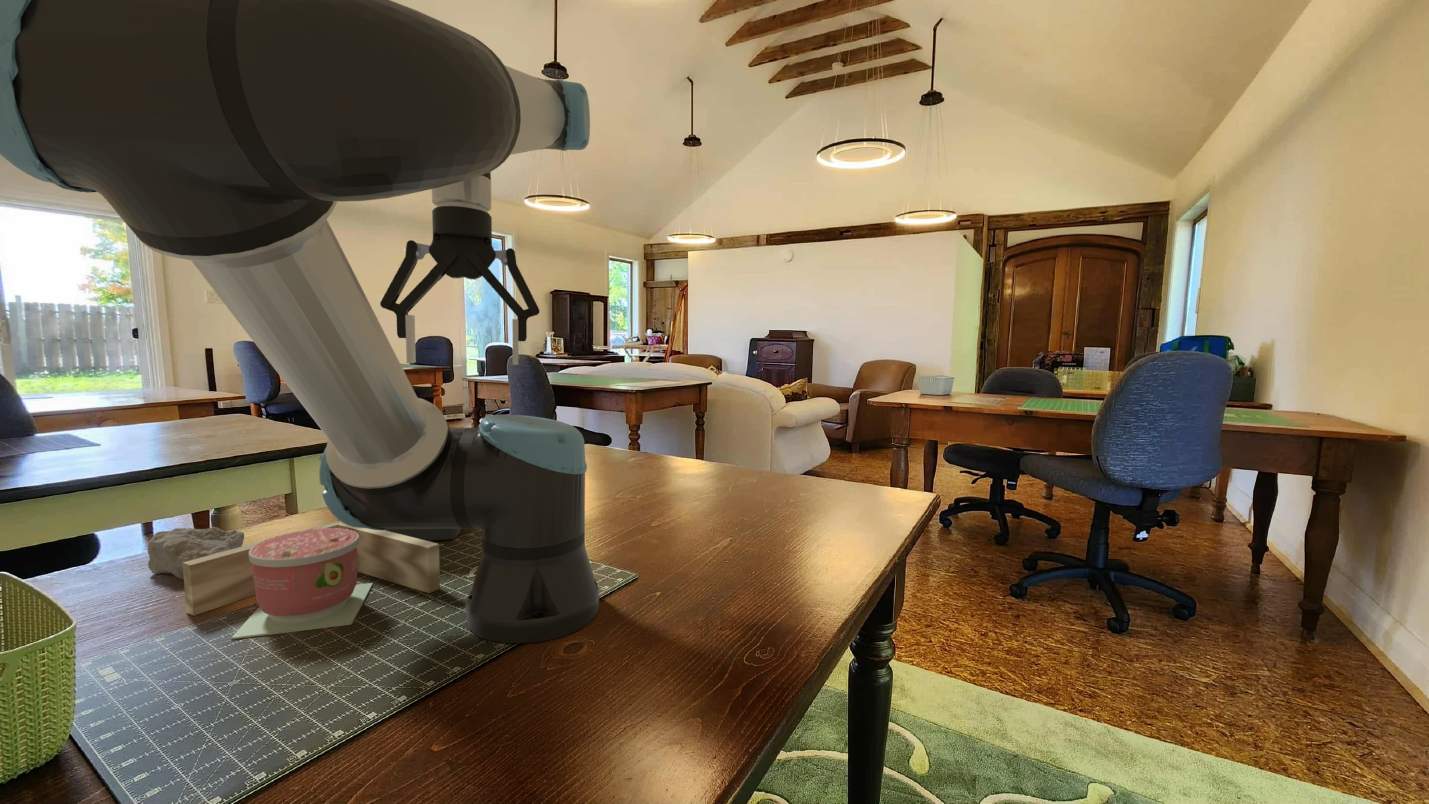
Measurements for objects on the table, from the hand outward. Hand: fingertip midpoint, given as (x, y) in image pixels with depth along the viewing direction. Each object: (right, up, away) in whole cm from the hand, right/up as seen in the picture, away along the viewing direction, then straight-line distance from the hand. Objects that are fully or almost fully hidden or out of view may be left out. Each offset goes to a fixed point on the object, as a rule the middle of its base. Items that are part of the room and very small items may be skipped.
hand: (464, 363), depth 81 cm
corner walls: (-12, -30, -12) cm, 34 cm away
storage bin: (-15, -27, +13) cm, 34 cm away
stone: (-35, -29, -4) cm, 45 cm away
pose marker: (-12, -30, -14) cm, 35 cm away
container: (-12, -30, -14) cm, 35 cm away
